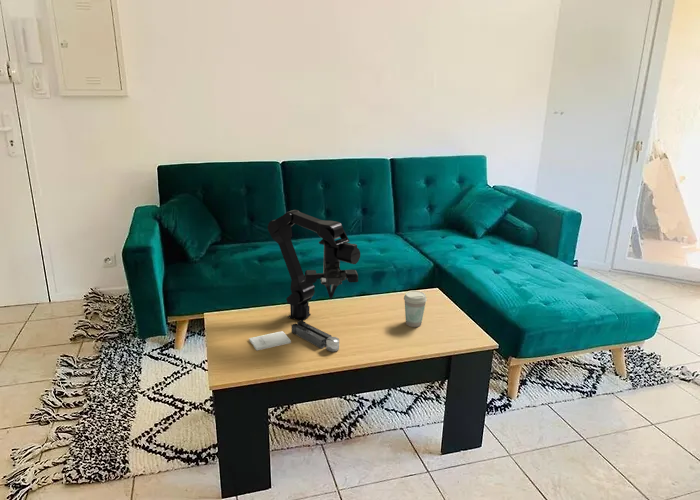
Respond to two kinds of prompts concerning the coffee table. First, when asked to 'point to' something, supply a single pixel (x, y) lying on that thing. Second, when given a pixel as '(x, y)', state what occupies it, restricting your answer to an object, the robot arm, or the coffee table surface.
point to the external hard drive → (269, 340)
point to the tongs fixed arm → (308, 335)
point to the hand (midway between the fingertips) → (330, 298)
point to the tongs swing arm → (330, 341)
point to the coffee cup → (414, 307)
